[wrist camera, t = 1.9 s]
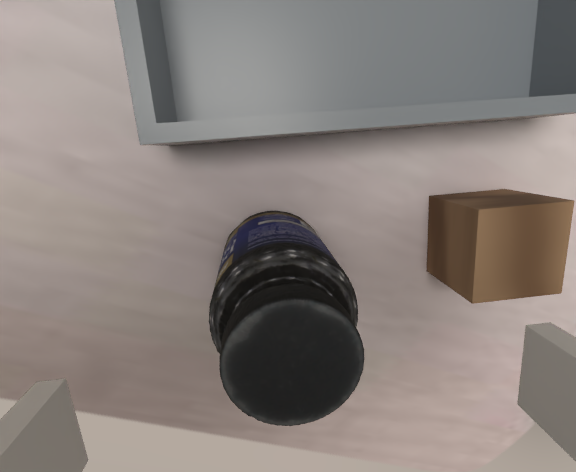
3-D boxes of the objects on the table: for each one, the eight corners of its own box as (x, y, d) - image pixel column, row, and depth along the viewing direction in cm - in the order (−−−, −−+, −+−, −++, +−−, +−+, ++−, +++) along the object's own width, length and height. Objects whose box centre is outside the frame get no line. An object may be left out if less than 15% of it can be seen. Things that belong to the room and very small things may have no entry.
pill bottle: (216, 215, 20) (177, 289, 10) (317, 203, 21) (384, 261, 10) (232, 309, 22) (212, 459, 11) (325, 296, 22) (390, 429, 12)
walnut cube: (426, 270, 23) (472, 303, 18) (428, 195, 22) (478, 209, 17) (497, 262, 23) (561, 293, 18) (503, 188, 22) (574, 200, 17)
